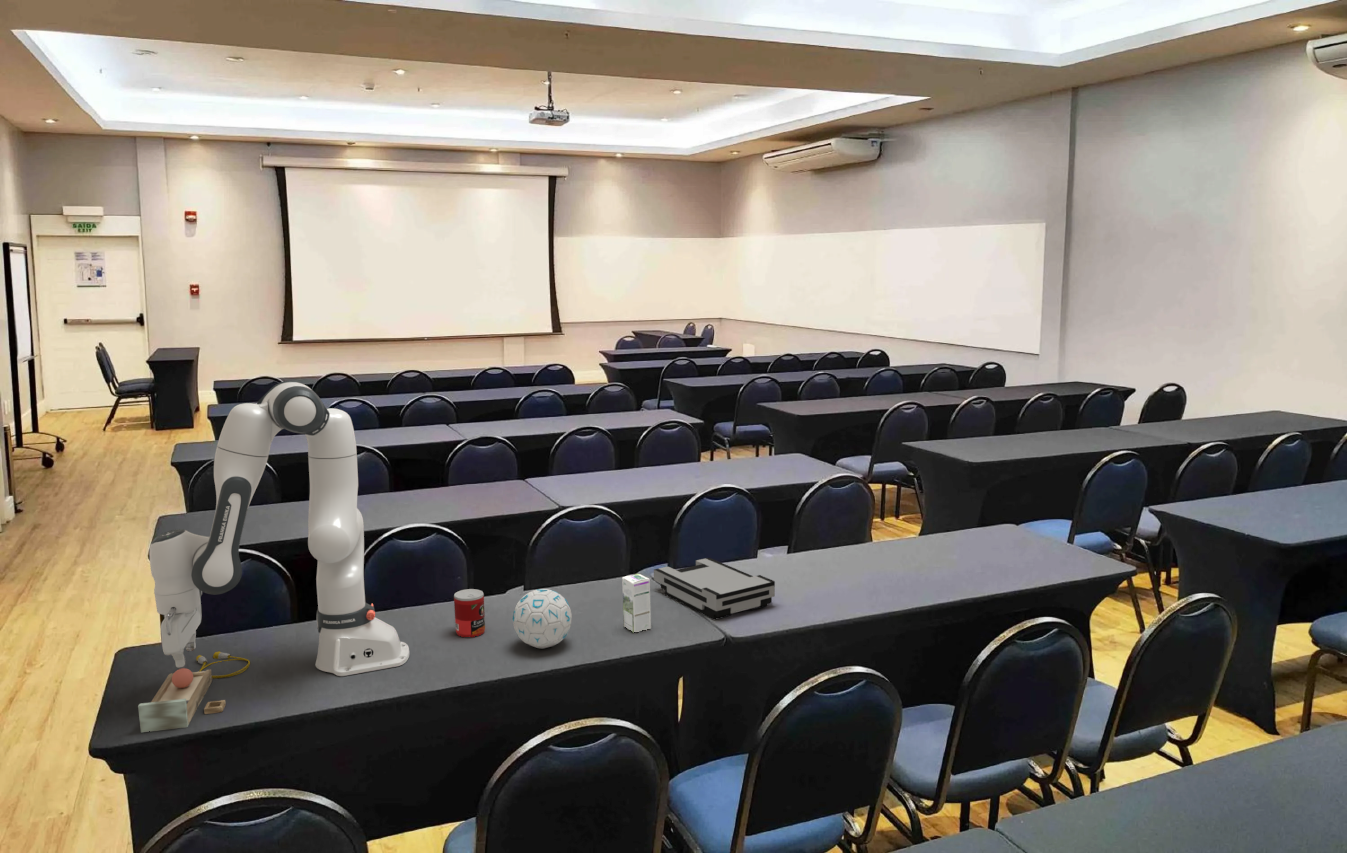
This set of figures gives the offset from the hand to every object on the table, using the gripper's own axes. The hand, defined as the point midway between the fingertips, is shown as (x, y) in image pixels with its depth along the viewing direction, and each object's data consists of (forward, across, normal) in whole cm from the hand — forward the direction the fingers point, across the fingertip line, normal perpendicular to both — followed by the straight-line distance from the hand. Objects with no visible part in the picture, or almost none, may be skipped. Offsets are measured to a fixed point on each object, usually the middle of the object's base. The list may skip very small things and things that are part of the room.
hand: (186, 657), depth 216 cm
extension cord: (+10, +14, -4) cm, 18 cm away
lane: (+9, -6, +1) cm, 10 cm away
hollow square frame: (+9, -11, -7) cm, 16 cm away
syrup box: (+13, +11, -108) cm, 110 cm away
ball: (+4, -1, +1) cm, 5 cm away
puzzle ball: (+12, +6, -82) cm, 83 cm away
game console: (+15, +27, -135) cm, 138 cm away
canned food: (+12, +20, -64) cm, 68 cm away
